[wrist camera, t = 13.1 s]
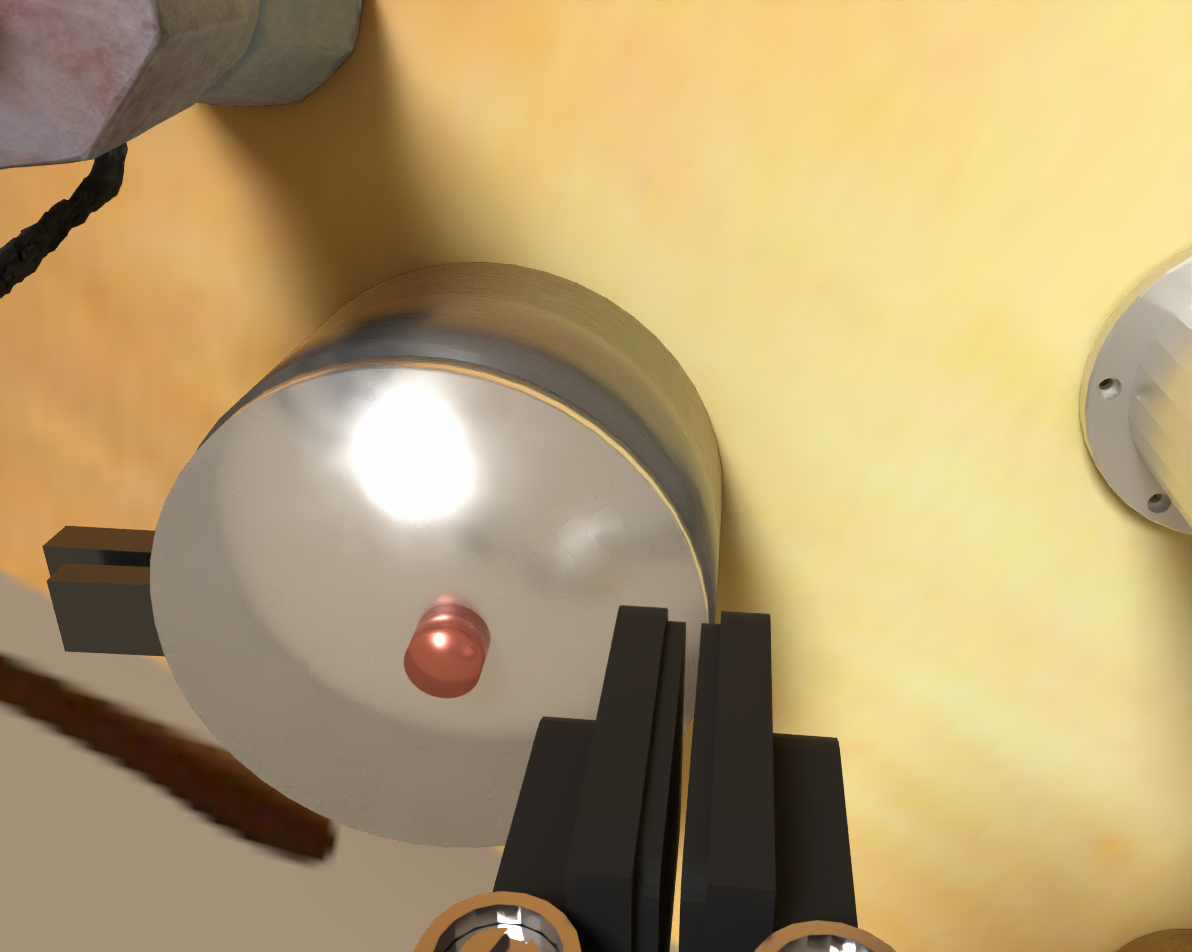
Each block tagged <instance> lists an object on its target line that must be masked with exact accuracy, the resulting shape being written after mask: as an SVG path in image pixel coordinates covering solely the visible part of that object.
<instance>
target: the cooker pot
mask: <svg viewBox="0 0 1192 952" xmlns="http://www.w3.org/2000/svg"><path fill="white" fill-rule="evenodd" d="M397 355H418V356H429V357H441V358H451V359H456V360H461V361H465V362H470V363H475V364H480V365H484V366H489V367H492V368H495V369H498V370H501V371H504V372H507V373H510V374H513V375H516V376H519V377H522V378H524V379H527V380H530V381H532V382H534V383H536V384H538V385H540V386H542V387H544V388H546V389H548V390H550V391H552V392H555V393H557V394H559V395H561V396H563V397H565V398H566V399H568V400H569V401H571V402H572V403H574V404H576V405H577V406H579V407H580V408H582V409H583V410H585V411H587V412H588V413H590V414H591V415H593V416H594V417H596V418H597V419H599V420H600V421H601V422H602V423H603V424H605V425H606V426H607V427H608V428H609V429H611V430H612V431H613V432H614V433H615V434H617V435H618V436H619V437H620V438H621V439H623V440H624V441H625V442H626V443H627V444H628V445H629V446H630V447H631V448H632V449H633V450H634V451H635V452H636V453H637V454H638V455H639V456H640V458H641V459H642V460H643V461H644V462H645V463H646V464H647V465H648V466H649V467H650V468H651V469H652V470H653V472H654V473H655V474H656V476H657V477H658V479H659V480H660V481H661V483H662V484H663V486H664V487H665V489H666V490H667V491H668V493H669V494H670V496H671V497H672V498H673V500H674V501H675V503H676V505H677V507H678V509H679V511H680V513H681V515H682V517H683V519H684V521H685V522H686V524H687V526H688V528H689V530H690V532H691V535H692V538H693V541H694V543H695V546H696V549H697V552H698V555H699V558H700V560H701V563H702V568H703V574H704V579H705V584H706V589H707V594H708V617H709V623H711V624H715V610H716V594H717V577H718V560H719V544H720V527H721V510H722V468H721V463H720V457H719V452H718V446H717V441H716V437H715V434H714V431H713V428H712V425H711V422H710V419H709V416H708V413H707V411H706V409H705V407H704V405H703V403H702V401H701V399H700V397H699V395H698V393H697V391H696V389H695V387H694V385H693V384H692V382H691V381H690V379H689V378H688V376H687V375H686V373H685V372H684V370H683V369H682V367H681V366H680V364H679V363H678V361H677V360H676V359H675V358H674V356H673V355H672V354H671V353H670V352H669V351H668V350H667V349H666V347H665V346H664V345H663V344H662V343H661V342H660V341H659V339H658V338H657V337H656V336H655V335H653V334H652V333H651V332H650V331H649V330H648V329H647V328H646V327H644V326H643V325H642V324H641V323H640V322H639V321H638V320H636V319H635V318H634V317H633V316H632V315H630V314H629V313H627V312H626V311H624V310H623V309H621V308H620V307H618V306H617V305H615V304H614V303H613V302H611V301H610V300H608V299H607V298H605V297H603V296H601V295H599V294H597V293H595V292H593V291H591V290H589V289H587V288H585V287H583V286H581V285H579V284H577V283H575V282H572V281H569V280H567V279H564V278H561V277H558V276H556V275H553V274H550V273H547V272H544V271H539V270H535V269H530V268H526V267H521V266H517V265H509V264H498V263H487V262H470V263H449V264H443V265H438V266H432V267H427V268H421V269H417V270H414V271H411V272H408V273H405V274H402V275H399V276H396V277H393V278H390V279H388V280H386V281H384V282H382V283H380V284H378V285H376V286H374V287H372V288H370V289H368V290H366V291H364V292H362V293H361V294H360V295H358V296H357V297H355V298H354V299H352V300H351V301H349V302H348V303H347V304H345V305H344V306H342V307H341V308H340V309H339V310H338V311H336V312H335V313H334V314H333V315H332V316H331V317H330V318H329V319H328V320H327V321H326V322H324V323H323V324H322V325H321V326H320V327H319V328H318V329H317V330H316V331H315V332H314V333H312V334H311V335H310V336H309V337H308V338H307V339H306V340H305V341H304V342H303V343H301V344H300V345H299V346H298V347H297V348H296V349H295V350H294V351H293V352H292V353H291V354H289V355H288V356H287V357H286V358H285V359H284V360H283V361H282V362H281V363H280V364H278V365H277V366H276V367H275V368H274V369H273V370H272V371H271V372H270V373H269V374H268V375H266V376H265V377H264V378H263V379H262V380H261V381H260V382H259V383H258V384H257V385H256V386H254V387H253V388H252V389H251V390H250V391H249V392H248V393H247V394H246V395H245V396H243V397H242V398H241V399H240V400H239V401H238V402H237V403H236V404H235V405H234V406H233V407H232V408H231V409H230V410H229V411H228V412H226V413H225V414H224V415H223V416H222V417H221V418H220V419H219V420H218V422H217V423H216V424H215V425H214V427H213V428H212V429H211V431H210V432H209V433H208V435H207V436H206V437H205V439H204V440H203V441H202V442H201V444H200V445H199V447H198V449H199V448H200V447H201V446H202V445H203V443H204V442H205V441H206V440H207V439H208V438H209V437H210V436H211V435H212V434H213V433H214V432H215V431H216V430H218V429H219V428H220V427H221V426H222V425H223V424H224V423H225V422H226V421H227V420H228V419H229V418H230V417H231V416H232V415H234V414H235V413H236V412H237V411H238V410H239V409H240V408H241V407H243V406H244V405H246V404H247V403H249V402H250V401H252V400H253V399H255V398H256V397H258V396H259V395H260V394H262V393H263V392H265V391H266V390H268V389H270V388H272V387H274V386H276V385H278V384H280V383H282V382H284V381H286V380H288V379H290V378H293V377H295V376H297V375H299V374H301V373H305V372H308V371H311V370H314V369H317V368H320V367H323V366H327V365H330V364H333V363H337V362H343V361H349V360H355V359H360V358H366V357H372V356H397ZM198 449H197V450H198ZM196 452H197V451H196ZM154 535H155V531H149V530H131V529H114V528H96V527H78V526H65V527H64V528H63V529H62V530H61V531H60V532H58V533H57V534H56V535H55V536H54V537H53V538H52V539H50V540H49V541H48V542H47V543H46V544H45V545H43V550H44V554H45V558H46V561H47V565H48V569H49V573H50V577H51V576H52V575H53V574H54V573H55V572H56V571H57V570H58V569H59V568H60V567H61V566H62V565H63V564H88V565H112V566H136V567H150V559H151V553H152V547H153V541H154Z"/></svg>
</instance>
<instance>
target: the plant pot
mask: <svg viewBox="0 0 1192 952" xmlns="http://www.w3.org/2000/svg"><path fill="white" fill-rule="evenodd" d="M1117 952H1192V929H1176V930H1165V931H1160V932H1155V933H1152V934H1148V935H1145V936H1142V937H1140V938H1138V939H1135V940H1134V941H1132V942H1130V943H1128V944H1127V945H1125V946H1124V947H1122V948H1121V949H1120V950H1119V951H1117Z"/></svg>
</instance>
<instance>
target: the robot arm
mask: <svg viewBox="0 0 1192 952" xmlns="http://www.w3.org/2000/svg"><path fill="white" fill-rule="evenodd" d="M1109 378H1110V381H1109V383H1108V384H1106V385H1104V386H1099V384H1100V383H1101V382H1102V381H1104V380H1105V379H1109ZM1080 419H1081V424H1082V429H1083V435H1084V440H1085V443H1086V445H1087V447H1088V450H1089V452H1090V454H1091V456H1092V459H1093V461H1094V463H1095V465H1096V467H1097V468H1098V470H1099V471H1100V473H1101V474H1102V476H1103V477H1104V479H1105V480H1106V482H1107V484H1108V485H1109V486H1110V487H1111V488H1112V489H1113V490H1114V491H1115V493H1116V494H1117V495H1118V496H1119V497H1120V498H1121V499H1122V500H1123V501H1124V502H1125V503H1126V504H1127V505H1128V506H1130V507H1131V508H1132V509H1134V510H1135V511H1137V512H1138V513H1139V514H1141V515H1142V516H1144V517H1145V518H1147V519H1149V520H1150V521H1153V522H1155V523H1158V524H1160V525H1162V526H1165V527H1167V528H1170V529H1172V530H1174V531H1177V532H1181V533H1185V534H1190V535H1192V247H1191V248H1189V249H1187V250H1185V251H1183V252H1181V253H1179V254H1177V255H1175V256H1173V257H1172V258H1171V259H1169V260H1168V261H1167V262H1165V263H1164V264H1162V265H1161V266H1160V267H1158V268H1157V269H1156V270H1154V271H1153V272H1151V273H1150V274H1149V275H1147V276H1146V277H1145V278H1144V279H1143V280H1142V281H1141V282H1140V283H1139V284H1138V285H1137V286H1136V287H1135V288H1134V289H1133V290H1132V291H1131V292H1130V293H1129V294H1128V295H1127V296H1126V297H1125V298H1124V299H1123V300H1122V301H1121V302H1120V303H1119V305H1118V306H1117V307H1116V309H1115V310H1114V312H1113V313H1112V314H1111V316H1110V317H1109V319H1108V320H1107V322H1106V323H1105V324H1104V326H1103V327H1102V329H1101V330H1100V333H1099V335H1098V337H1097V339H1096V341H1095V343H1094V345H1093V348H1092V350H1091V352H1090V354H1089V356H1088V359H1087V363H1086V367H1085V371H1084V375H1083V379H1082V383H1081V389H1080ZM1155 494H1157V496H1155V497H1153V498H1151V497H1152V496H1154V495H1155ZM685 652H686V622H678V621H668V608H661V607H644V606H628V605H620V606H619V609H618V613H617V618H616V623H615V628H614V633H613V638H612V643H611V648H610V653H609V657H608V662H607V667H606V672H605V677H604V682H603V687H602V692H601V697H600V702H599V707H598V712H597V717H596V720H587V719H573V718H560V717H546V716H543V717H542V719H541V720H540V722H539V725H538V728H537V731H536V735H535V739H534V742H533V746H532V750H531V753H530V757H529V761H528V764H527V768H526V772H525V775H524V779H523V783H522V786H521V790H520V794H519V797H518V801H517V805H516V808H515V812H514V815H513V819H512V823H511V826H510V830H509V834H508V837H507V841H506V845H505V848H504V852H503V856H502V859H501V863H500V867H499V870H498V874H497V878H496V881H495V885H494V889H493V892H492V893H487V894H480V895H476V896H473V897H471V898H468V899H466V900H464V901H461V902H459V903H456V904H454V905H453V906H451V907H450V908H449V909H447V910H446V911H445V912H443V913H442V914H441V915H439V916H438V917H437V918H435V919H434V920H433V922H432V923H431V924H430V926H429V927H428V928H427V930H426V931H425V933H424V934H423V935H422V937H421V938H420V940H419V942H418V944H417V946H416V947H415V950H414V951H413V952H670V940H671V928H672V916H673V905H674V893H675V881H676V869H677V857H678V846H679V833H680V815H681V785H682V752H683V719H684V685H685ZM679 952H896V951H895V950H894V949H893V948H892V947H891V946H890V945H888V944H886V943H885V942H883V941H882V940H880V939H879V938H877V937H875V936H874V935H872V934H871V933H869V932H867V931H864V930H862V929H859V928H858V924H857V914H856V904H855V894H854V884H853V875H852V865H851V855H850V845H849V835H848V825H847V815H846V806H845V796H844V786H843V776H842V766H841V756H840V748H839V742H838V740H837V738H832V737H819V736H805V735H791V734H778V733H773V726H772V676H771V626H770V614H759V613H743V612H726V611H721V624H711V623H702V624H701V635H700V647H699V660H698V673H697V685H696V698H695V711H694V723H693V736H692V748H691V761H690V774H689V786H688V799H687V812H686V824H685V837H684V849H683V863H682V879H681V899H680V928H679Z"/></svg>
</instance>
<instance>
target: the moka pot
mask: <svg viewBox="0 0 1192 952" xmlns="http://www.w3.org/2000/svg"><path fill="white" fill-rule="evenodd" d="M361 9H362V0H0V169H7V168H14V167H31V166H43V165H55V164H66V163H74V162H80V161H86V160H92V159H95V160H94V164H93V167H92V170H91V172H90V174H89V175H88V176H87V177H86V178H84V179H83V181H82V183H81V184H80V185H79V186H78V188H77V189H76V191H75V192H74V193H73V195H72V196H71V198H70V199H69V200H65V199H63V200H61V201H60V202H58V203H56V204H55V205H54V206H52V207H51V208H50V210H49V211H48V212H45V213H44V214H43V216H42V217H41V218H40V220H39V221H38V223H36V224H34V225H32V226H30V227H28V228H25V229H23V230H21V233H20V235H19V236H18V237H16V238H13V239H12V240H10V241H9V242H8V243H7V244H6V245H5V246H3V247H2V248H1V249H0V298H2V297H3V296H4V295H5V294H8V293H10V292H11V290H12V287H13V286H14V285H15V284H17V283H19V282H22V281H23V280H24V278H26V277H27V276H29V275H30V274H32V273H34V272H35V271H36V269H37V267H38V266H39V265H40V263H41V261H42V259H43V258H44V257H46V256H47V254H48V253H49V252H52V251H55V249H56V248H57V247H58V245H59V244H60V243H61V241H62V240H63V239H64V238H65V237H66V236H67V235H68V232H69V231H70V230H71V229H72V228H74V227H76V226H79V225H81V224H83V223H85V221H86V219H87V218H88V216H89V214H90V213H92V212H95V211H97V210H98V209H99V208H101V207H102V206H103V205H104V204H105V203H106V202H108V201H110V200H111V199H112V198H113V197H115V196H117V194H118V192H119V189H120V187H121V185H122V181H123V174H124V162H125V158H126V154H127V150H128V147H127V144H126V142H128V141H129V140H131V139H133V138H135V137H137V136H139V135H140V134H142V133H144V132H145V131H147V130H149V129H150V128H152V127H154V126H155V125H157V124H159V123H161V122H163V121H165V120H167V119H168V118H170V117H172V116H174V115H176V114H178V113H179V112H181V111H183V110H185V109H187V108H189V107H191V106H192V105H194V104H195V103H196V102H200V103H207V104H212V105H224V106H235V107H238V106H270V105H281V104H286V103H296V102H300V101H302V100H304V99H305V98H306V97H308V96H309V95H310V94H312V93H313V92H314V91H315V90H316V89H317V88H318V87H320V86H321V85H322V84H323V83H324V82H325V81H326V80H327V79H328V78H329V77H330V76H331V75H332V74H333V73H334V72H335V71H336V70H337V69H338V68H339V67H340V66H341V65H342V64H343V62H344V61H345V60H346V59H347V58H349V57H350V55H351V54H352V52H353V49H354V45H355V42H356V38H357V34H358V30H359V24H360V14H361Z"/></svg>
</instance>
